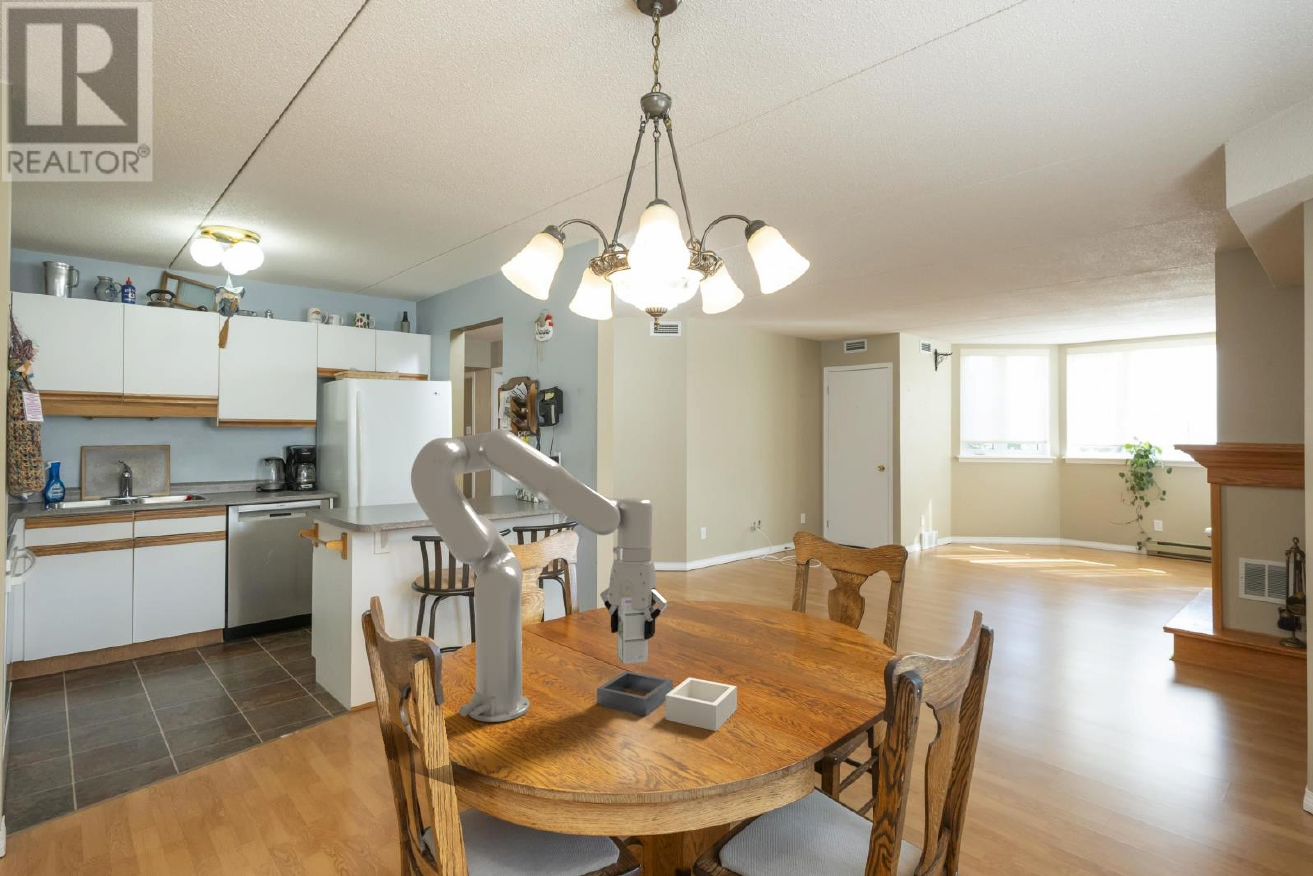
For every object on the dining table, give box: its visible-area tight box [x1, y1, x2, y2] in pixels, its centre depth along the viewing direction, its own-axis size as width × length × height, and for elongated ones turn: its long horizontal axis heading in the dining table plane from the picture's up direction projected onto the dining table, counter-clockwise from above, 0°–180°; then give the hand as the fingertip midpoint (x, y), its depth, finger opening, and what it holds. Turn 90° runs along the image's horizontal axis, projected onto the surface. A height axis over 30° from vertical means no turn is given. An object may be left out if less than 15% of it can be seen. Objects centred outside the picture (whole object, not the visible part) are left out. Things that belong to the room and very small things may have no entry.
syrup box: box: [616, 597, 649, 665], centre depth 142 cm, size 6×6×14 cm
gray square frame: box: [596, 670, 674, 717], centre depth 142 cm, size 12×12×4 cm
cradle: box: [665, 677, 738, 732], centre depth 134 cm, size 11×11×5 cm
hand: (632, 634), depth 142 cm, fingers closed on syrup box, 7 cm apart
